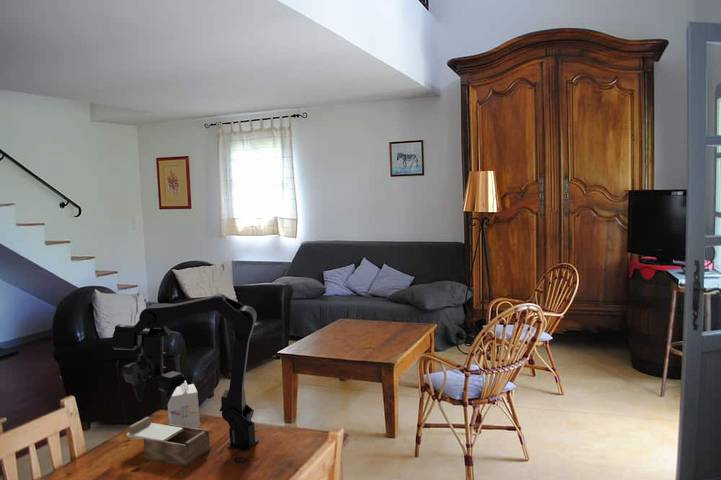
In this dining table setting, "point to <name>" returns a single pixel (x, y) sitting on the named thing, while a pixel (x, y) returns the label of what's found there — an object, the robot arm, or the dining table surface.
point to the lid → (152, 430)
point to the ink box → (184, 406)
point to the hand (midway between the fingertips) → (151, 404)
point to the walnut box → (179, 447)
